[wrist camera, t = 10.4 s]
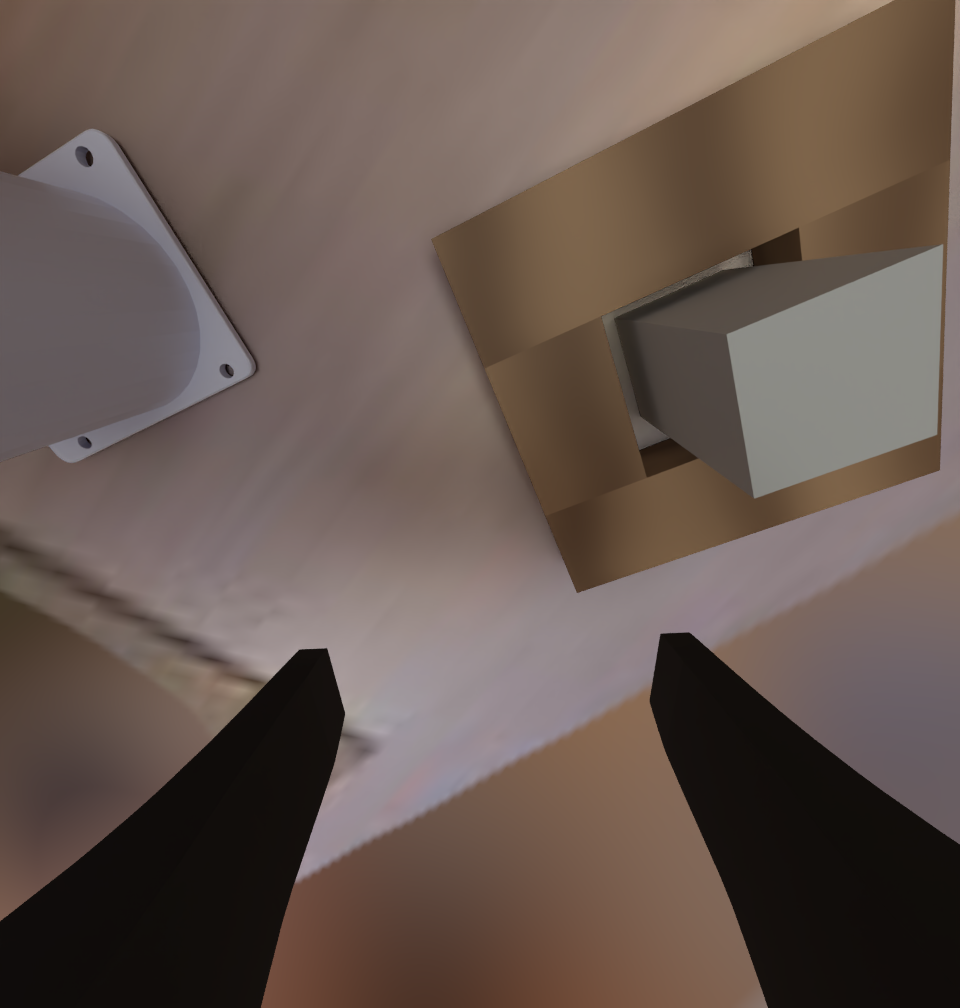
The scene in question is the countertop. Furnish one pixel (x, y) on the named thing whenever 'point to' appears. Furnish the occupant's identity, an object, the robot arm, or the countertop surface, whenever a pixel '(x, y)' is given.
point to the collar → (689, 250)
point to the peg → (793, 364)
